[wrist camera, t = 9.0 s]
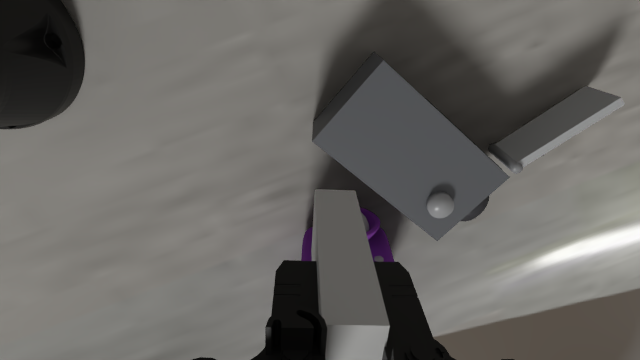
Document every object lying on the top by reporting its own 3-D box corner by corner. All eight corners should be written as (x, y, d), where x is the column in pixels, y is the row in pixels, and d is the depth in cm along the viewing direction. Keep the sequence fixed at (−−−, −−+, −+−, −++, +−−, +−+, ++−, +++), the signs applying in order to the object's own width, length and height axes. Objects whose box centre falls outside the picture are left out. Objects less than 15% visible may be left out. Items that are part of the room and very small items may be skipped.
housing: (313, 122, 40) (311, 144, 34) (374, 51, 38) (385, 61, 31) (432, 219, 45) (450, 254, 39) (494, 162, 42) (525, 190, 36)
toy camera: (380, 183, 43) (397, 231, 34) (395, 282, 49) (413, 347, 40) (284, 200, 44) (274, 252, 35) (309, 296, 50) (307, 362, 41)
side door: (583, 84, 39) (622, 96, 34) (589, 96, 39) (629, 110, 34) (486, 147, 41) (509, 167, 36) (493, 157, 42) (517, 179, 37)
